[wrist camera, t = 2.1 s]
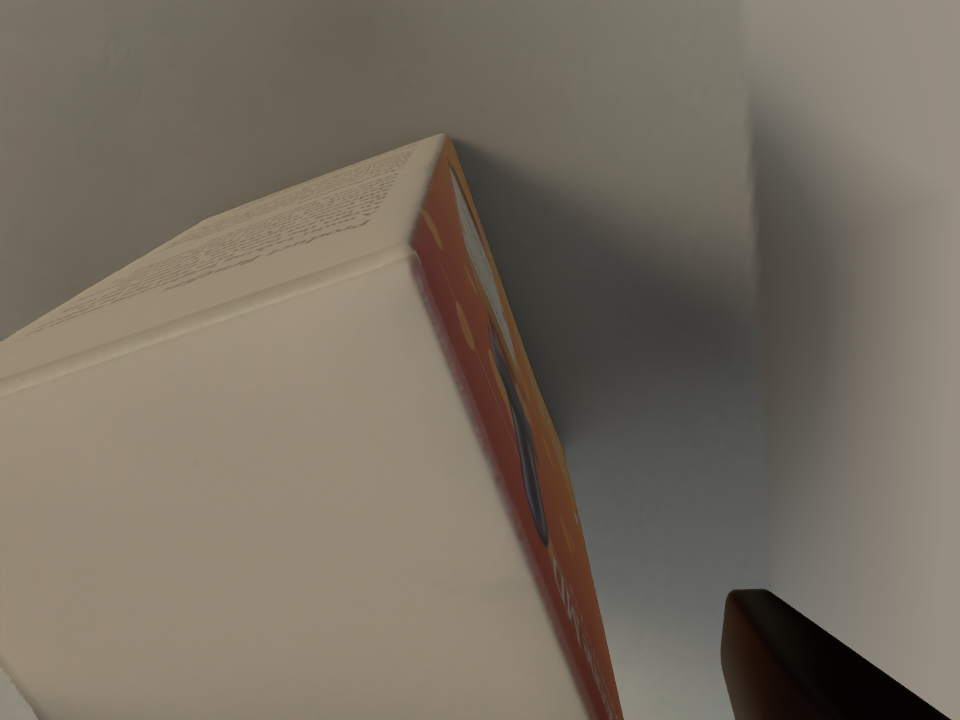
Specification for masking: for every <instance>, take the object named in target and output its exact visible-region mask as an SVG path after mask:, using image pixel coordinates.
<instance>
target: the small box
mask: <svg viewBox="0 0 960 720" xmlns="http://www.w3.org/2000/svg"><path fill="white" fill-rule="evenodd" d="M0 666H1V667H2V668H3V669H4V671H5V672H6V674H7V675H8V677H9V678H10V680H11V681H12V683H13V684H14V685H15V687H16V688H17V690H18V691H19V692H20V694H21V695H22V696H23V698H24V699H25V700H26V701H27V703H28V704H29V705H30V707H31V708H32V710H33V712H34V713H35V715H36V716H37V718H38V719H39V720H624V719H623V714H622V710H621V705H620V700H619V696H618V691H617V687H616V682H615V678H614V673H613V668H612V664H611V659H610V655H609V650H608V646H607V641H606V637H605V632H604V627H603V623H602V618H601V614H600V609H599V605H598V600H597V596H596V591H595V587H594V582H593V578H592V574H591V569H590V564H589V559H588V555H587V551H586V546H585V542H584V537H583V533H582V528H581V524H580V520H579V515H578V510H577V506H576V501H575V497H574V492H573V488H572V484H571V480H570V475H569V471H568V467H567V462H566V458H565V454H564V451H563V448H562V446H561V443H560V441H559V438H558V436H557V433H556V430H555V428H554V425H553V423H552V420H551V418H550V415H549V413H548V410H547V408H546V406H545V403H544V400H543V398H542V395H541V392H540V390H539V387H538V385H537V382H536V379H535V377H534V374H533V371H532V368H531V366H530V363H529V360H528V357H527V354H526V352H525V349H524V346H523V343H522V340H521V337H520V335H519V332H518V329H517V326H516V323H515V320H514V317H513V314H512V311H511V308H510V305H509V303H508V300H507V297H506V294H505V291H504V288H503V285H502V282H501V279H500V276H499V273H498V270H497V267H496V265H495V262H494V259H493V256H492V253H491V250H490V247H489V244H488V241H487V239H486V236H485V233H484V230H483V227H482V224H481V221H480V219H479V216H478V213H477V210H476V207H475V204H474V201H473V199H472V196H471V193H470V190H469V187H468V184H467V182H466V179H465V176H464V173H463V170H462V167H461V164H460V162H459V159H458V156H457V153H456V150H455V147H454V145H453V143H452V140H451V139H450V137H449V136H448V135H447V134H445V133H441V134H438V135H435V136H431V137H428V138H425V139H422V140H419V141H417V142H414V143H411V144H408V145H405V146H403V147H400V148H397V149H394V150H391V151H388V152H386V153H383V154H380V155H377V156H374V157H372V158H369V159H366V160H363V161H360V162H358V163H355V164H352V165H349V166H347V167H344V168H341V169H338V170H335V171H333V172H330V173H327V174H324V175H322V176H319V177H316V178H314V179H311V180H308V181H306V182H303V183H300V184H297V185H295V186H292V187H289V188H287V189H284V190H281V191H279V192H276V193H273V194H270V195H268V196H265V197H262V198H260V199H257V200H254V201H251V202H249V203H246V204H244V205H241V206H239V207H236V208H233V209H231V210H228V211H226V212H223V213H221V214H218V215H215V216H212V217H209V218H207V219H205V220H203V221H201V222H200V223H198V224H197V225H195V226H194V227H192V228H190V229H188V230H186V231H185V232H183V233H181V234H180V235H178V236H176V237H175V238H173V239H171V240H170V241H168V242H166V243H164V244H163V245H161V246H159V247H158V248H156V249H154V250H153V251H151V252H149V253H148V254H146V255H144V256H143V257H141V258H139V259H137V260H135V261H134V262H132V263H130V264H129V265H127V266H125V267H124V268H122V269H121V270H119V271H117V272H115V273H113V274H111V275H110V276H108V277H107V278H105V279H103V280H101V281H100V282H98V283H96V284H95V285H93V286H91V287H90V288H88V289H86V290H85V291H83V292H81V293H80V294H78V295H77V296H75V297H73V298H72V299H70V300H69V301H67V302H65V303H64V304H62V305H60V306H59V307H57V308H55V309H53V310H52V311H50V312H48V313H47V314H45V315H44V316H42V317H40V318H39V319H37V320H35V321H34V322H32V323H30V324H29V325H27V326H25V327H24V328H22V329H20V330H18V331H17V332H15V333H14V334H12V335H11V336H9V337H8V338H6V339H4V340H2V341H1V342H0Z"/></svg>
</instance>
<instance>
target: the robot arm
mask: <svg viewBox="0 0 960 720" xmlns="http://www.w3.org/2000/svg"><path fill="white" fill-rule="evenodd" d="M721 664H722V670H723V674H724V678H725V682H726V686H727V690H728V693H729V697H730V701H731V705H732V709H733V712H734V716H735V720H951V719H949V718H948V717H946V716H945V715H944V714H942V713H941V712H939V711H938V710H937V709H935V708H934V707H932V706H931V705H929V704H928V703H927V702H925V701H924V700H923V699H921V698H920V697H918V696H917V695H915V694H914V693H913V692H911V691H910V690H908V689H907V688H905V687H904V686H903V685H901V684H900V683H899V682H897V681H896V680H894V679H893V678H891V677H890V676H889V675H887V674H886V673H884V672H883V671H882V670H880V669H879V668H877V667H876V666H874V665H873V664H871V663H870V662H869V661H867V660H866V659H864V658H863V657H862V656H860V655H859V654H858V653H856V652H855V651H853V650H852V649H851V648H849V647H848V646H846V645H845V644H843V643H842V642H841V641H839V640H838V639H836V638H835V637H833V636H832V635H831V634H829V633H828V632H826V631H825V630H823V629H822V628H821V627H819V626H818V625H817V624H815V623H814V622H812V621H811V620H810V619H808V618H807V617H805V616H804V615H802V614H801V613H800V612H798V611H797V610H795V609H794V608H793V607H791V606H790V605H788V604H787V603H786V602H784V601H783V600H781V599H780V598H778V597H777V596H776V595H774V594H773V593H771V592H770V591H768V590H765V589H738V590H732V591H731V592H730V593H729V594H728V596H727V599H726V603H725V612H724V621H723V631H722V640H721Z"/></svg>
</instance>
